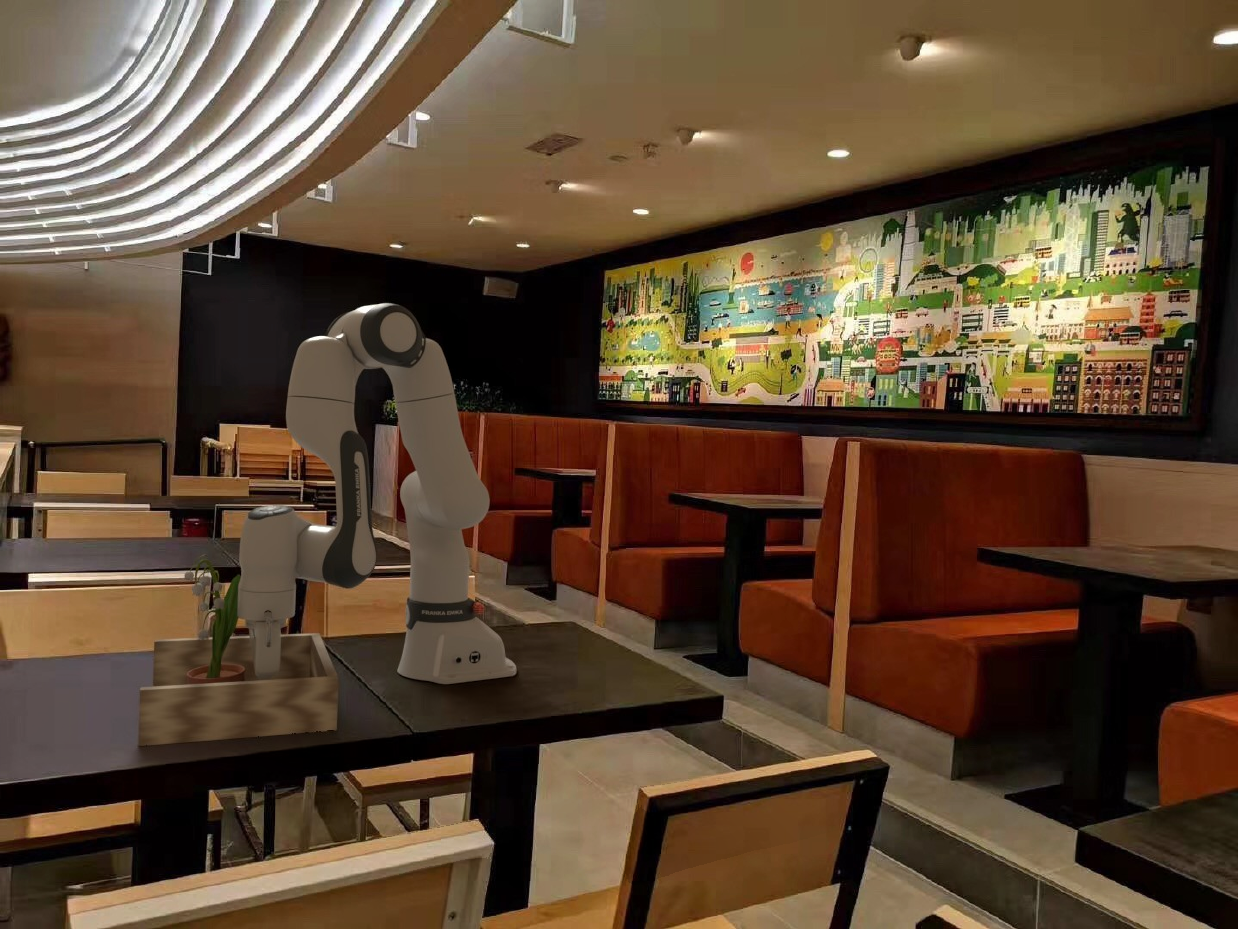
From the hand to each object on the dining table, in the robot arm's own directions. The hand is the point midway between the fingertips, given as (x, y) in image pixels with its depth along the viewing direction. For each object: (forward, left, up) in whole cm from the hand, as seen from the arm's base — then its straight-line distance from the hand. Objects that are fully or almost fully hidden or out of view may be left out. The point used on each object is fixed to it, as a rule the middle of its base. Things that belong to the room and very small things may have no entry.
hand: (263, 689), depth 150 cm
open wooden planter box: (+3, 0, -3) cm, 4 cm away
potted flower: (+7, 0, -3) cm, 8 cm away
